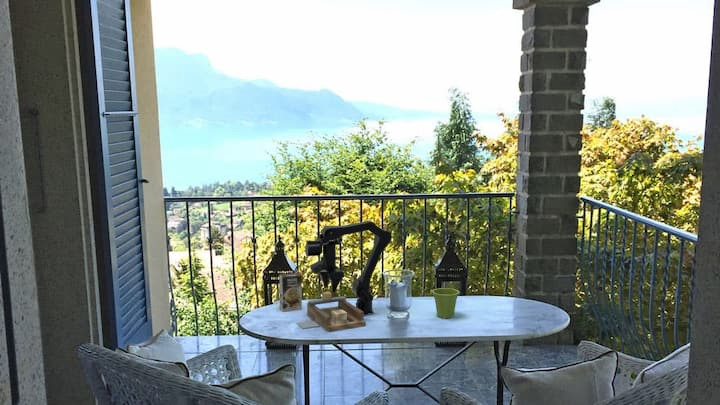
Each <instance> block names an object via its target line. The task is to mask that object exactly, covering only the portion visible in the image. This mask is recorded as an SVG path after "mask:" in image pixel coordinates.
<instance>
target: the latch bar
mask: <svg viewBox="0 0 720 405" xmlns="http://www.w3.org/2000/svg"><path fill="white" fill-rule="evenodd" d="M332 293H333V292H332V291H331V292H330V291H324V292H322V298H320V299H314V300H307V301H308V302H307V303H308V304H310V305H315V306H317V305H323V304H330V303H331V304H332V303H338V302H339V301H347V297H346V296H344V295H342V296H336V297H333V294H332Z"/></svg>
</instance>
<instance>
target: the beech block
mask: <svg viewBox="0 0 720 405" xmlns="http://www.w3.org/2000/svg"><path fill="white" fill-rule="evenodd" d="M331 321H332V322H333V323H334V324H341V323H348V321H347V312H345V311H344V310H335V311H331Z"/></svg>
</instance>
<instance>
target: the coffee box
mask: <svg viewBox="0 0 720 405" xmlns="http://www.w3.org/2000/svg"><path fill="white" fill-rule="evenodd" d="M302 284H303V283H302V275H301V274H300V273H299V272H293V273H279V309H280V310H281V312H292V311H300V310H303V309H302V308H303V304H302V303H303V302H302V300H303V299H302V297H303V296H302V292H303V290H302Z"/></svg>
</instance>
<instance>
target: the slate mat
mask: <svg viewBox="0 0 720 405" xmlns="http://www.w3.org/2000/svg"><path fill="white" fill-rule="evenodd" d="M296 325H297V326H299V327H300V328H301V329H302V330H307V329H313V328H318V327H321V326H320V325H319V324H318V323H317V322H315V321H314V320H308V321H307V320H306V321H300V322H296Z"/></svg>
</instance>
